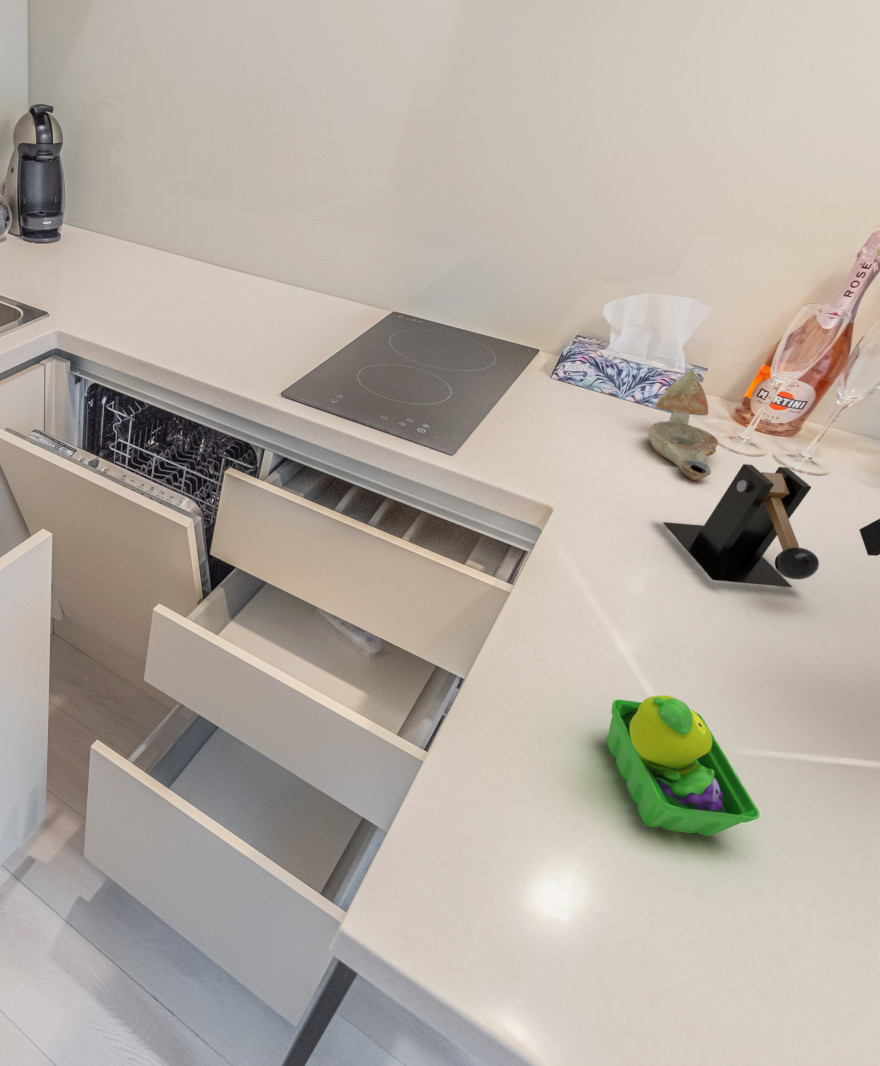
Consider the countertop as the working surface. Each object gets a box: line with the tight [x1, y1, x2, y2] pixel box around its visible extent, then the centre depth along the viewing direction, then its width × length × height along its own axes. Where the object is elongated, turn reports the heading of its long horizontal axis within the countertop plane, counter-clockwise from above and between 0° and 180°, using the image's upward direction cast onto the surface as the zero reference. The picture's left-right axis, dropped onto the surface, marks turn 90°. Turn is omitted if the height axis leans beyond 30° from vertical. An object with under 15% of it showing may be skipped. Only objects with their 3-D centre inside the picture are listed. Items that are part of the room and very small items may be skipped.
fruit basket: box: [606, 694, 760, 837], centre depth 65 cm, size 11×9×11 cm
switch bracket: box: [662, 463, 812, 588], centre depth 92 cm, size 12×9×13 cm
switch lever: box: [761, 471, 820, 581], centre depth 87 cm, size 13×4×4 cm, turn 174°
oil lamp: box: [648, 370, 719, 481], centre depth 114 cm, size 9×21×10 cm, turn 157°
